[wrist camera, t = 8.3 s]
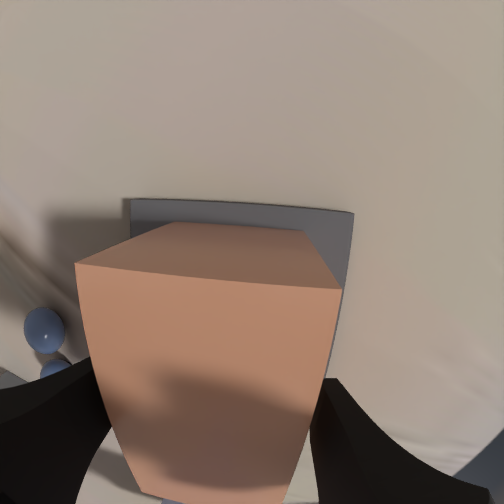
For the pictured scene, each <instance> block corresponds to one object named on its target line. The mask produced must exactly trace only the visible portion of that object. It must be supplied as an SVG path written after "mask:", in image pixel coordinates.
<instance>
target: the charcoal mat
mask: <svg viewBox="0 0 504 504" xmlns="http://www.w3.org/2000/svg"><path fill="white" fill-rule="evenodd" d="M172 222H191V223H207V224H222V225H236V226H250V227H263V228H276V229H288V230H300V231H304V232H305V234H306V235H307V237H308V238H309V240H310V241H311V243H312V244H313V246H314V247H315V248H316V250H317V251H318V253H319V254H320V256H321V257H322V259H323V261H324V262H325V264H326V265H327V267H328V268H329V270H330V271H331V273H332V274H333V276H334V277H335V279H336V281H337V282H338V284H339V285H340V287H341V288H342V294H341V299H340V305H339V310H338V315H337V320H336V325H335V330H334V335H333V339H332V344H331V348H330V353H329V357H328V361H327V365H326V370H325V374H324V377H323V378H325V377H326V373H327V369H328V365H329V361H330V357H331V352H332V348H333V344H334V339H335V334H336V330H337V325H338V320H339V315H340V310H341V304H342V299H343V293H344V287H345V281H346V275H347V269H348V262H349V255H350V248H351V240H352V232H353V223H354V213H351V212H345V211H335V210H326V209H315V208H305V207H293V206H281V205H269V204H255V203H239V202H222V201H201V200H175V199H131V209H130V227H131V238H134V237H136V236H139V235H141V234H144V233H146V232H149V231H151V230H154V229H156V228H159V227H162V226H164V225H167V224H169V223H172Z"/></svg>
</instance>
